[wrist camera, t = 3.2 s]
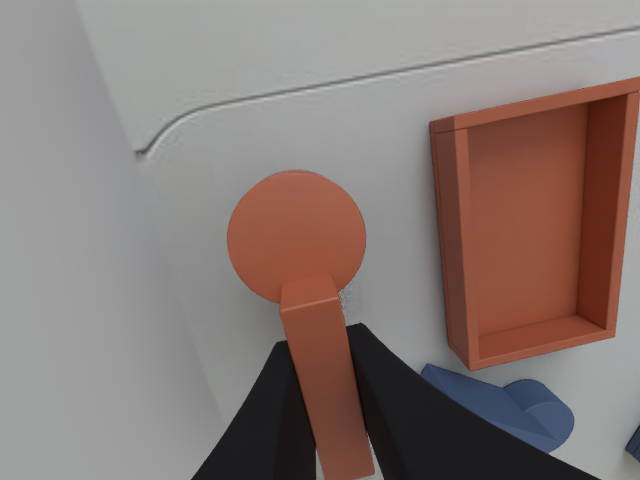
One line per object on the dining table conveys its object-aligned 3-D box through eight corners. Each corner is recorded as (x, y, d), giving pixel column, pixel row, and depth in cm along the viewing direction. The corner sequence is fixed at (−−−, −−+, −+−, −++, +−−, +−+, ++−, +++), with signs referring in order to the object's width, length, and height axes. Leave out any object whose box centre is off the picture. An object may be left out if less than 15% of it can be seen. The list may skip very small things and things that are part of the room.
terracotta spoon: (382, 385, 11) (414, 466, 8) (288, 408, 11) (287, 497, 8) (343, 158, 9) (368, 158, 6) (223, 184, 9) (188, 197, 6)
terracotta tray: (577, 316, 15) (615, 337, 14) (448, 346, 15) (469, 372, 13) (591, 87, 12) (643, 75, 10) (429, 121, 12) (453, 115, 10)
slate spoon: (404, 400, 16) (429, 453, 13) (437, 345, 15) (471, 390, 12) (526, 436, 17) (572, 491, 15) (561, 389, 17) (617, 437, 14)
